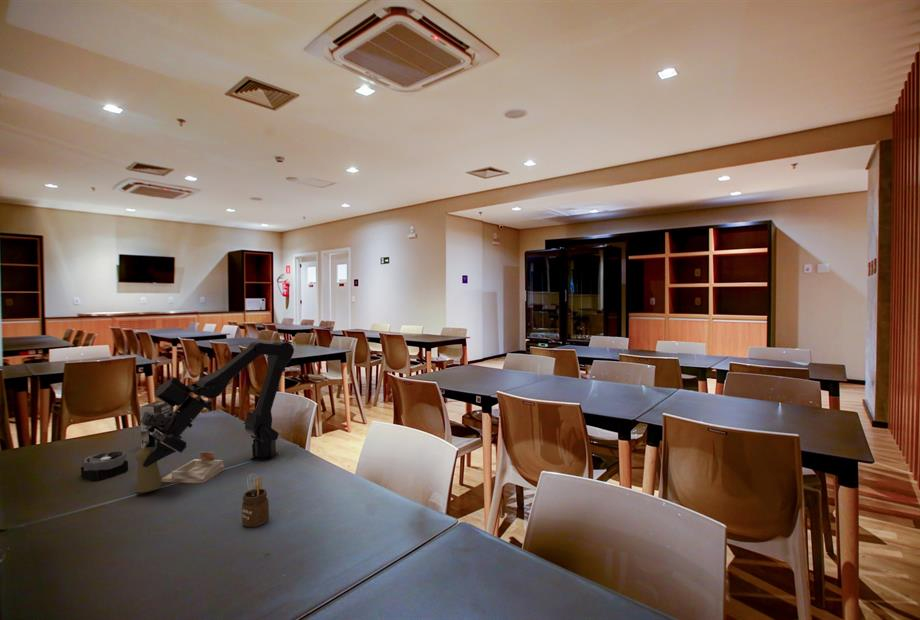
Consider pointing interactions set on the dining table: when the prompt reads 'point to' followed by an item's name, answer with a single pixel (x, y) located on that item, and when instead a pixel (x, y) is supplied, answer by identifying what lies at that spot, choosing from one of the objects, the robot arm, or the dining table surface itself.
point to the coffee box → (154, 408)
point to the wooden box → (196, 470)
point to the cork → (147, 472)
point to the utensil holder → (255, 505)
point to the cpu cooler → (104, 465)
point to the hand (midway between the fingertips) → (141, 463)
